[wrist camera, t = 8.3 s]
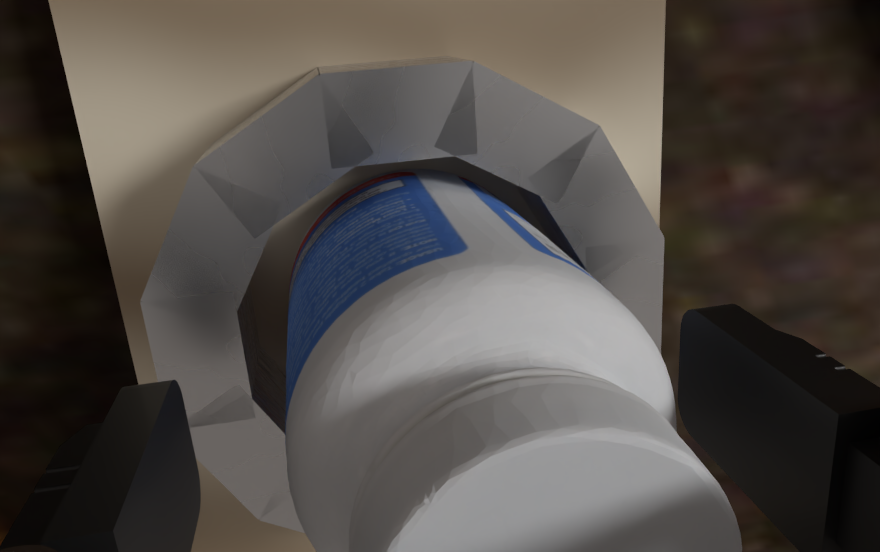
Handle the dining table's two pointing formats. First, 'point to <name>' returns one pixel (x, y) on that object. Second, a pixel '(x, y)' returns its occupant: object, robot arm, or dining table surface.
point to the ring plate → (276, 69)
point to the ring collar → (316, 167)
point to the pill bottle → (476, 389)
